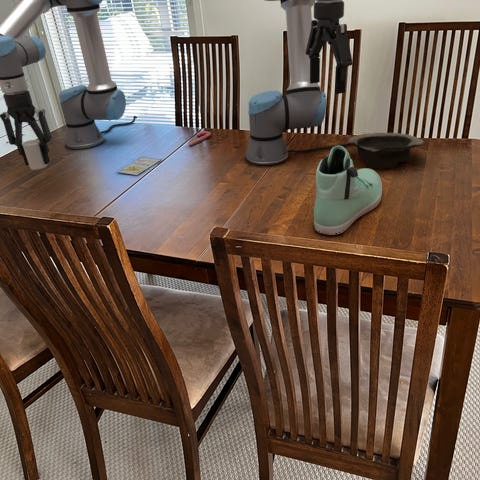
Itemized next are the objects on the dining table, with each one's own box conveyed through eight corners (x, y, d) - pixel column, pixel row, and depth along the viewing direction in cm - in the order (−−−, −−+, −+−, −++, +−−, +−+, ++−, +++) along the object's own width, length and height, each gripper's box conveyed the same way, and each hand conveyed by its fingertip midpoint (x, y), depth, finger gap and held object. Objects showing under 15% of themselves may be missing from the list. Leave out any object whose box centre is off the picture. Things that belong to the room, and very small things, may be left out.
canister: (31, 164, 159) (23, 141, 155) (48, 162, 160) (41, 138, 156) (28, 170, 155) (21, 146, 151) (46, 168, 156) (39, 144, 151)
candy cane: (179, 144, 195) (179, 141, 194) (202, 133, 205) (202, 129, 204) (191, 147, 192) (190, 143, 191) (213, 135, 202) (213, 131, 201)
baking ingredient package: (117, 171, 173) (141, 156, 185) (117, 172, 174) (141, 158, 185) (136, 174, 170) (160, 159, 181) (136, 175, 170) (160, 160, 181)
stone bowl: (381, 179, 153) (381, 151, 149) (333, 161, 173) (332, 136, 169) (438, 160, 162) (440, 133, 157) (386, 145, 182) (386, 120, 178)
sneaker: (389, 187, 148) (396, 123, 138) (356, 242, 123) (361, 168, 112) (346, 181, 154) (350, 119, 144) (306, 232, 129) (307, 161, 118)
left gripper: (-21, 97, 142) (5, 169, 154) (41, 92, 141) (62, 165, 154) (-10, 90, 148) (14, 160, 160) (50, 86, 148) (69, 156, 160)
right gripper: (293, -1, 128) (293, 80, 139) (342, 6, 108) (338, 100, 119) (317, -4, 130) (316, 76, 141) (370, 2, 110) (364, 95, 121)
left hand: (37, 163), depth 157 cm, fingers closed on canister, 6 cm apart
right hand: (326, 87), depth 130 cm, fingers open, 13 cm apart
